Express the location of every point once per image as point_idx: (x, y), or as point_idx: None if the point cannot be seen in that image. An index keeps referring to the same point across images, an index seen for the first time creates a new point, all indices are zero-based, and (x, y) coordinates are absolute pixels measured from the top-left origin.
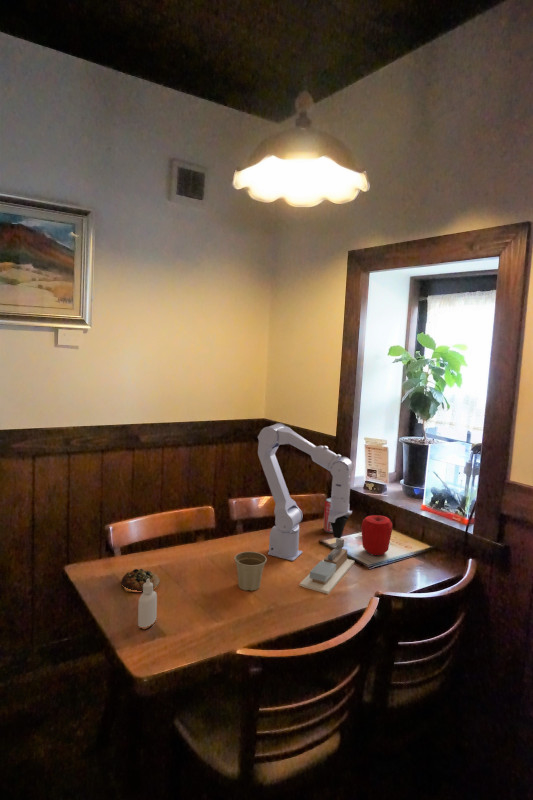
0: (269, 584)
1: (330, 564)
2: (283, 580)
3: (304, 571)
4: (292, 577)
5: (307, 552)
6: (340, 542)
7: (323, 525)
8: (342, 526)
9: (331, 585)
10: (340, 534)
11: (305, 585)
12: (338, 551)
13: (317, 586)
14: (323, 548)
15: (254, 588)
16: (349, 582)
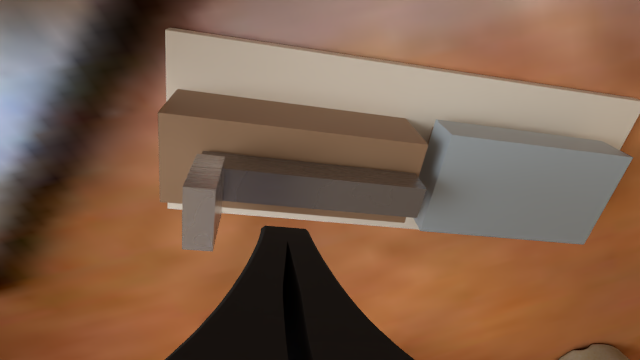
0: (561, 326)
1: (466, 168)
2: (519, 298)
3: (408, 255)
4: (483, 279)
5: (183, 300)
6: (218, 195)
7: None
8: (374, 329)
9: (575, 102)
10: (319, 255)
11: None
12: (290, 168)
13: None
14: (71, 250)
15: (623, 354)
16: (476, 8)
